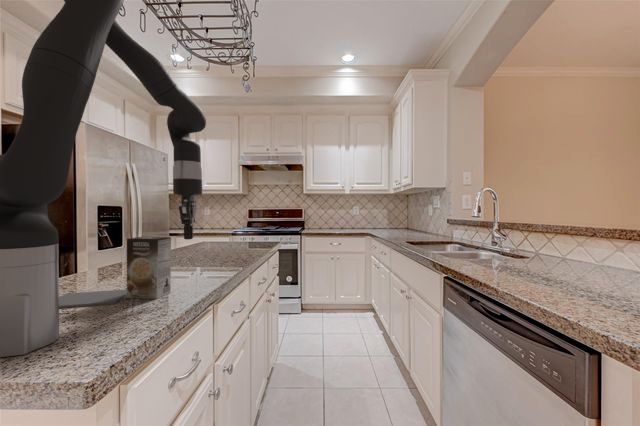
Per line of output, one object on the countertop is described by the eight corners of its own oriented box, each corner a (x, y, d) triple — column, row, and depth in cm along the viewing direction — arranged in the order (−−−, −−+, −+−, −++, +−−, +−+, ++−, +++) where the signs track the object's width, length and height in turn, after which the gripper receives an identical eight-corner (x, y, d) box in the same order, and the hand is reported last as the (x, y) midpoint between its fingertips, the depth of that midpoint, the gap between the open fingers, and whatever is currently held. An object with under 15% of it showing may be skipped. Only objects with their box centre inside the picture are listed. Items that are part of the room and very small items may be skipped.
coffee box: (125, 298, 76) (124, 238, 76) (142, 291, 82) (142, 236, 82) (157, 299, 75) (156, 238, 75) (172, 292, 81) (171, 236, 81)
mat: (115, 303, 71) (115, 301, 71) (36, 310, 67) (36, 307, 67) (132, 291, 83) (132, 288, 83) (66, 295, 78) (66, 293, 78)
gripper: (198, 176, 75) (199, 241, 76) (204, 181, 88) (205, 236, 89) (167, 175, 73) (168, 242, 74) (178, 180, 86) (179, 237, 87)
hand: (188, 239), depth 81 cm, fingers closed
